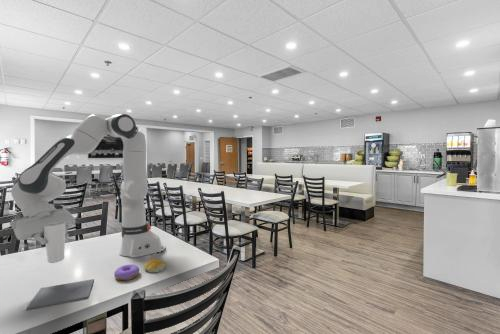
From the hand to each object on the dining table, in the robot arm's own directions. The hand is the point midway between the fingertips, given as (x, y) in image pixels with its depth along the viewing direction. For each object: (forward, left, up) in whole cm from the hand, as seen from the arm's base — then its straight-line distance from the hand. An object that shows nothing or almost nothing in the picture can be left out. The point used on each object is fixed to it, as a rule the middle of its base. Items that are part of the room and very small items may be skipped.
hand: (56, 240), depth 100 cm
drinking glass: (0, 0, -9) cm, 9 cm away
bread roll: (-37, +4, -17) cm, 40 cm away
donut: (-25, +7, -17) cm, 31 cm away
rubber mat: (-5, +13, -17) cm, 21 cm away
